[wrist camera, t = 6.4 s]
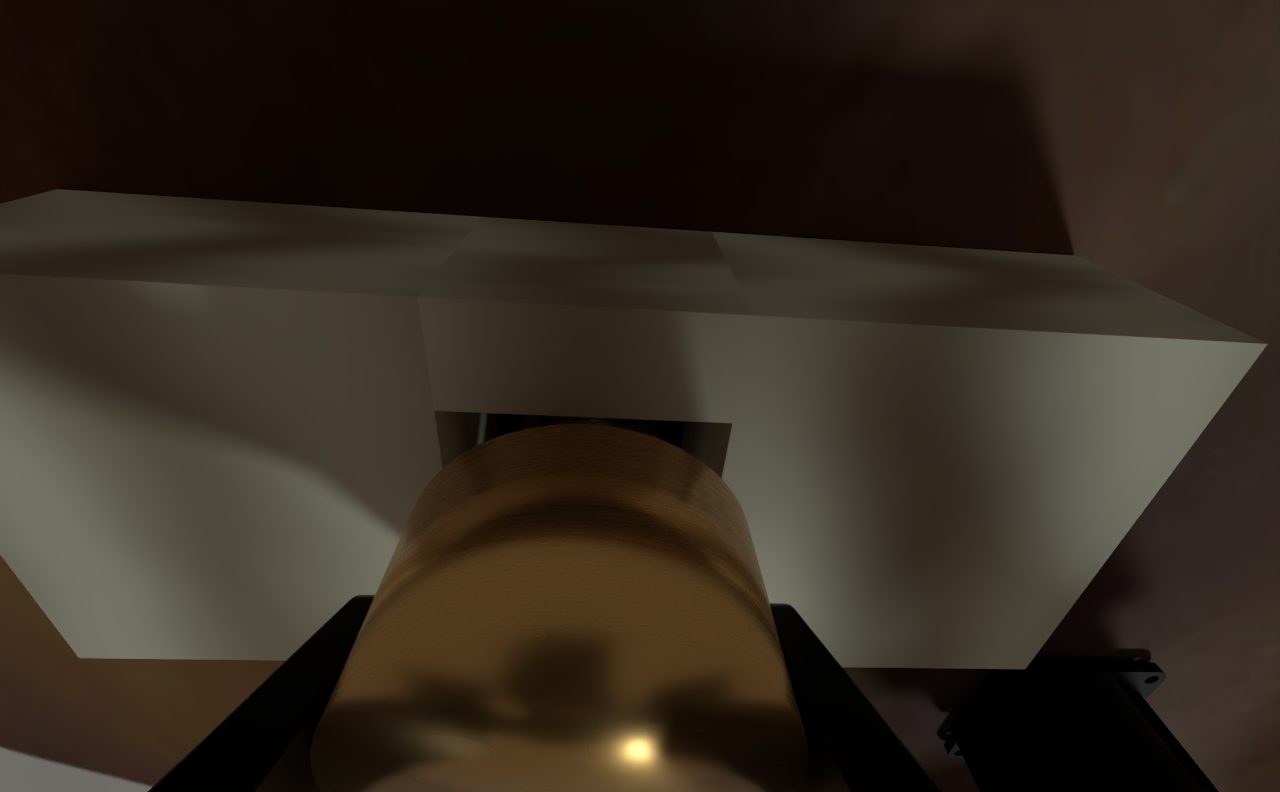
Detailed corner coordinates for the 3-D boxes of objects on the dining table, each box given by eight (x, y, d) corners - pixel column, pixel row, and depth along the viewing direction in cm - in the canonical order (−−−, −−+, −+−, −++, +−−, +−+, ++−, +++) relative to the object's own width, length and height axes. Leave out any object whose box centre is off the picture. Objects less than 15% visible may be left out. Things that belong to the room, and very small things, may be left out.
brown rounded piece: (735, 322, 12) (871, 637, 6) (699, 525, 15) (758, 875, 9) (449, 306, 12) (240, 628, 5) (473, 519, 15) (363, 881, 8)
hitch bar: (1075, 255, 13) (1267, 343, 9) (937, 534, 18) (1024, 668, 14) (57, 189, 11) (-223, 261, 8) (206, 513, 16) (79, 658, 12)
